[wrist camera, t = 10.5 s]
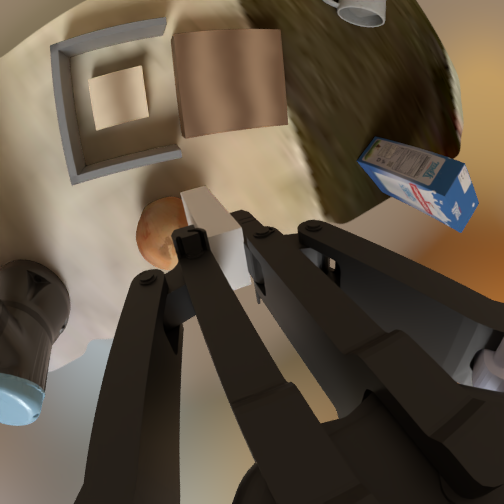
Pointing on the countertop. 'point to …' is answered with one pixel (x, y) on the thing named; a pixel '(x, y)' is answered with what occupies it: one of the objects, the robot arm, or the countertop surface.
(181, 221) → the onion
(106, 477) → the robot arm
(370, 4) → the ceramic mug
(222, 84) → the walnut platform
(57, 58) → the box
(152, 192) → the countertop surface
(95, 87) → the birch tile
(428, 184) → the milk carton
